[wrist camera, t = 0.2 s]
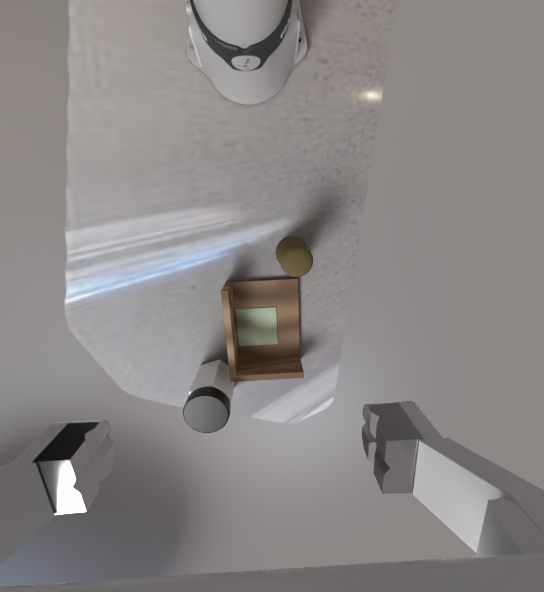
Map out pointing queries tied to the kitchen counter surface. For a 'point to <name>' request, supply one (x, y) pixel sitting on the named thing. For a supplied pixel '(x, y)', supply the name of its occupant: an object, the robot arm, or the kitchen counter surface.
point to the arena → (262, 329)
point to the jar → (209, 398)
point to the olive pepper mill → (294, 256)
